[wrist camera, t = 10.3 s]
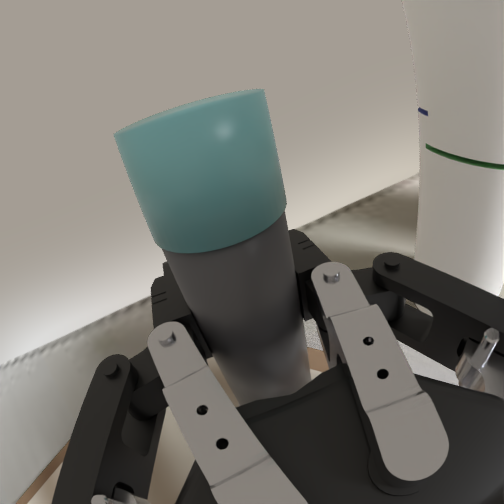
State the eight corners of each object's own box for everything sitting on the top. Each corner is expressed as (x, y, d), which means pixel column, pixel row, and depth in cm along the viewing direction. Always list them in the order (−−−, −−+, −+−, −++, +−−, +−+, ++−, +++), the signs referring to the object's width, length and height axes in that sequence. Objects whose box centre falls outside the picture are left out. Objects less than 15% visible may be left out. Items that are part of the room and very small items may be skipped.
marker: (264, 366, 17) (183, 103, 9) (327, 385, 15) (289, 83, 7) (229, 419, 14) (87, 145, 6) (296, 446, 12) (195, 115, 5)
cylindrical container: (477, 258, 20) (464, -58, 6) (507, 321, 15) (514, -85, 1) (402, 263, 22) (364, -72, 9) (418, 332, 17) (382, -121, 3)
